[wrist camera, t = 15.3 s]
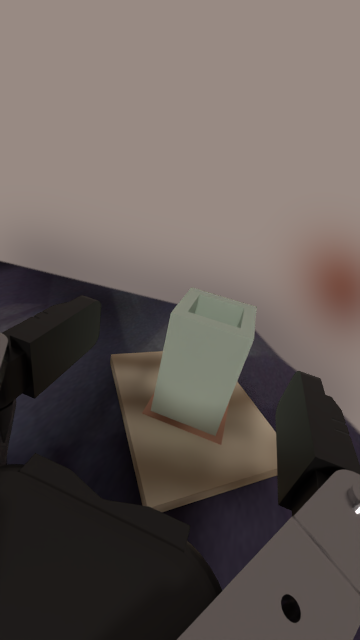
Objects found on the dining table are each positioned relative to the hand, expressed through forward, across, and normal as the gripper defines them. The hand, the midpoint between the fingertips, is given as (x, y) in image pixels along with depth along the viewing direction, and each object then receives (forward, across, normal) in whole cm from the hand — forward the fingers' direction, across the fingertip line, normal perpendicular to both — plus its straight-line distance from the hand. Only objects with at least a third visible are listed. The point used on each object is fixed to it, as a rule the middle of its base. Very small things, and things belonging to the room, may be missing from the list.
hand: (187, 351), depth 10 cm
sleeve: (+10, 0, +13) cm, 16 cm away
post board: (+10, 0, +14) cm, 18 cm away
